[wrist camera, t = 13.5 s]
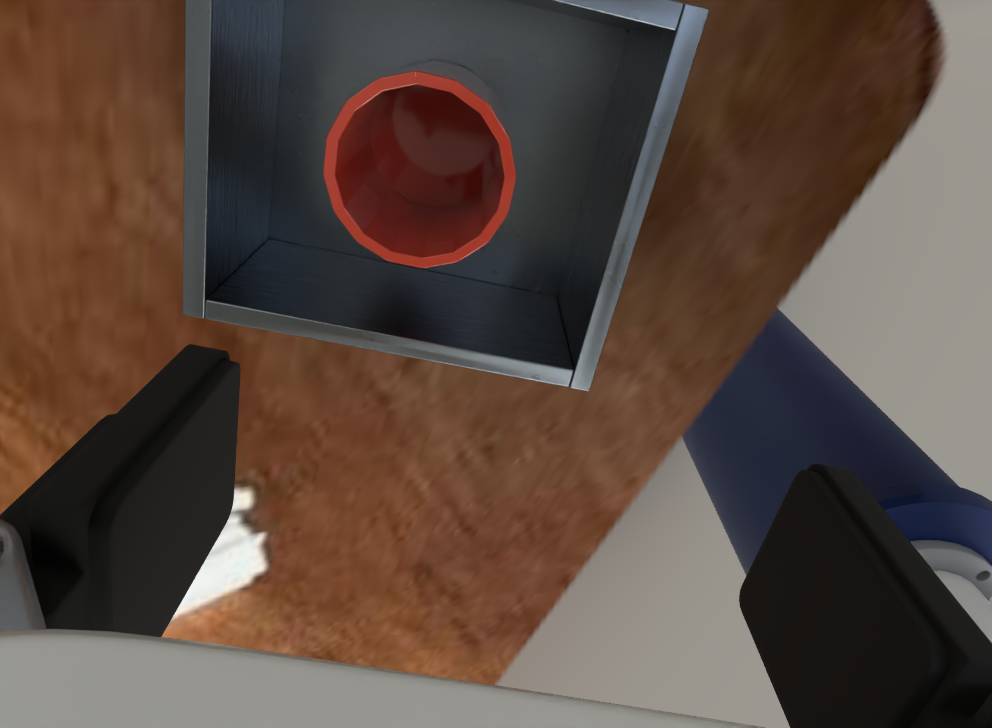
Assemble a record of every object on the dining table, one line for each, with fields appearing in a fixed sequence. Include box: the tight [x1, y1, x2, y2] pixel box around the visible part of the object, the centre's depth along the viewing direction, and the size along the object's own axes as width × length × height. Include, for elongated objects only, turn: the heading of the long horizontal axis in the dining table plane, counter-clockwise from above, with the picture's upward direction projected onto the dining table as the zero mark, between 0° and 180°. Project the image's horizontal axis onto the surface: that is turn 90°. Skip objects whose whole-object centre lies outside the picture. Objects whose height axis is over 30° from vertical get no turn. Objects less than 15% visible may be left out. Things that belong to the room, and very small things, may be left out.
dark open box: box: [183, 0, 709, 391], centre depth 27 cm, size 16×14×9 cm
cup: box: [323, 61, 516, 268], centre depth 26 cm, size 6×6×8 cm
